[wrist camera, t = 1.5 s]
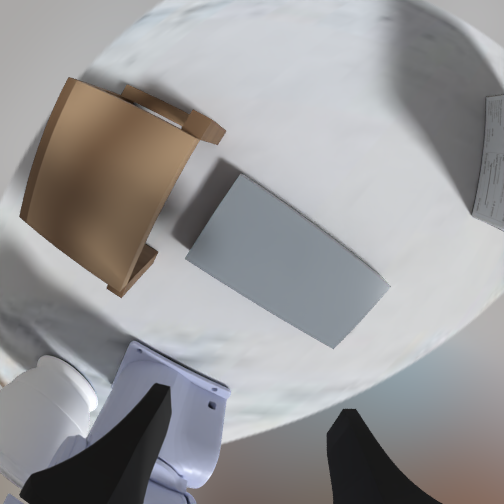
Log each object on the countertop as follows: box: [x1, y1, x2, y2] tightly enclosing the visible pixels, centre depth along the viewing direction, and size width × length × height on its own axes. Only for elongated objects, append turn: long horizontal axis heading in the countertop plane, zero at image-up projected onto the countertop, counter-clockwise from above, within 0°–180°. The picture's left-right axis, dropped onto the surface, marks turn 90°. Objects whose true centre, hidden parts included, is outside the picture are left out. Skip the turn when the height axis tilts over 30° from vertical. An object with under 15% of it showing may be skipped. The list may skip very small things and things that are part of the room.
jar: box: [0, 355, 98, 489], centre depth 17 cm, size 11×10×15 cm
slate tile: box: [185, 173, 391, 349], centre depth 18 cm, size 12×6×2 cm, turn 56°
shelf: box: [19, 77, 226, 298], centre depth 14 cm, size 8×10×6 cm
